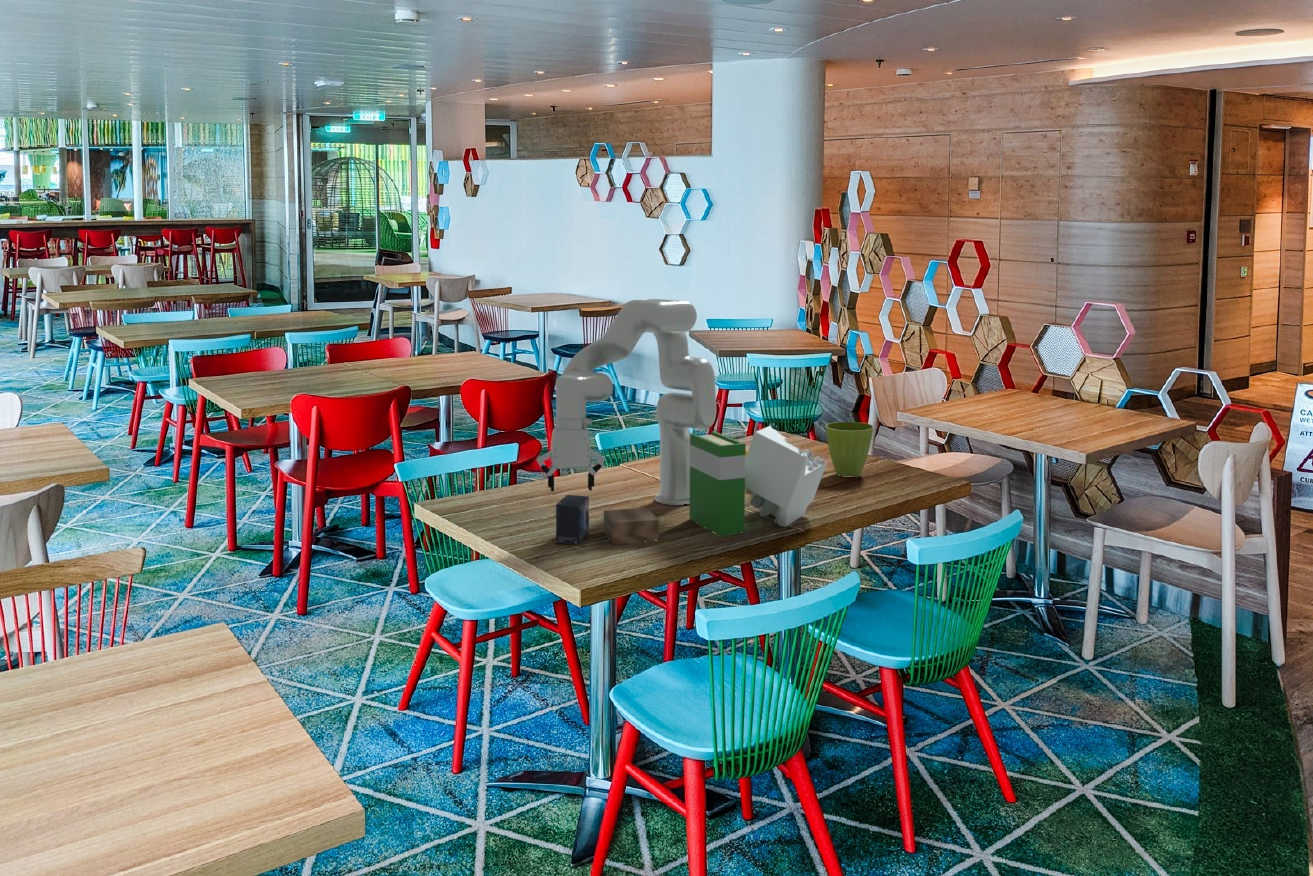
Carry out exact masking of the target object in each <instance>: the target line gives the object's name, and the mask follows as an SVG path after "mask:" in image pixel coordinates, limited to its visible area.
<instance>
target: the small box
mask: <svg viewBox="0 0 1313 876" xmlns="http://www.w3.org/2000/svg"><path fill="white" fill-rule="evenodd" d="M589 534H590V497H589V495H588V496H586V495H584V496H583V495H575V494H567V495H565V496H564V497H563V498H561V500H560V501H558V502H557V503H556V504H555V544H561V545H562V544H564V545H574V546H578V545H580V544H581V543H582V541H584V539H586V538H587V537H588V536H589Z"/></svg>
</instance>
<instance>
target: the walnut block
mask: <svg viewBox="0 0 1313 876" xmlns="http://www.w3.org/2000/svg"><path fill="white" fill-rule="evenodd" d="M603 533H604V534H605V536H606V535H607V536H608V537H607V536H606V537H607V539H608V538H609V539H608V540H609V541H611V542H610V543H611V545H623V543H627V544H635V543H634V542H642V543H645V542H644V541H655V540H658V541H659V519H658V517H657V516H656V515H655V514H654V513H653V512H652V511H651V509H650V508H649V507H643V508H642V507H640V508H626V509H625V508H623V509H609V510H608V509H607V510H603Z"/></svg>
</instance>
